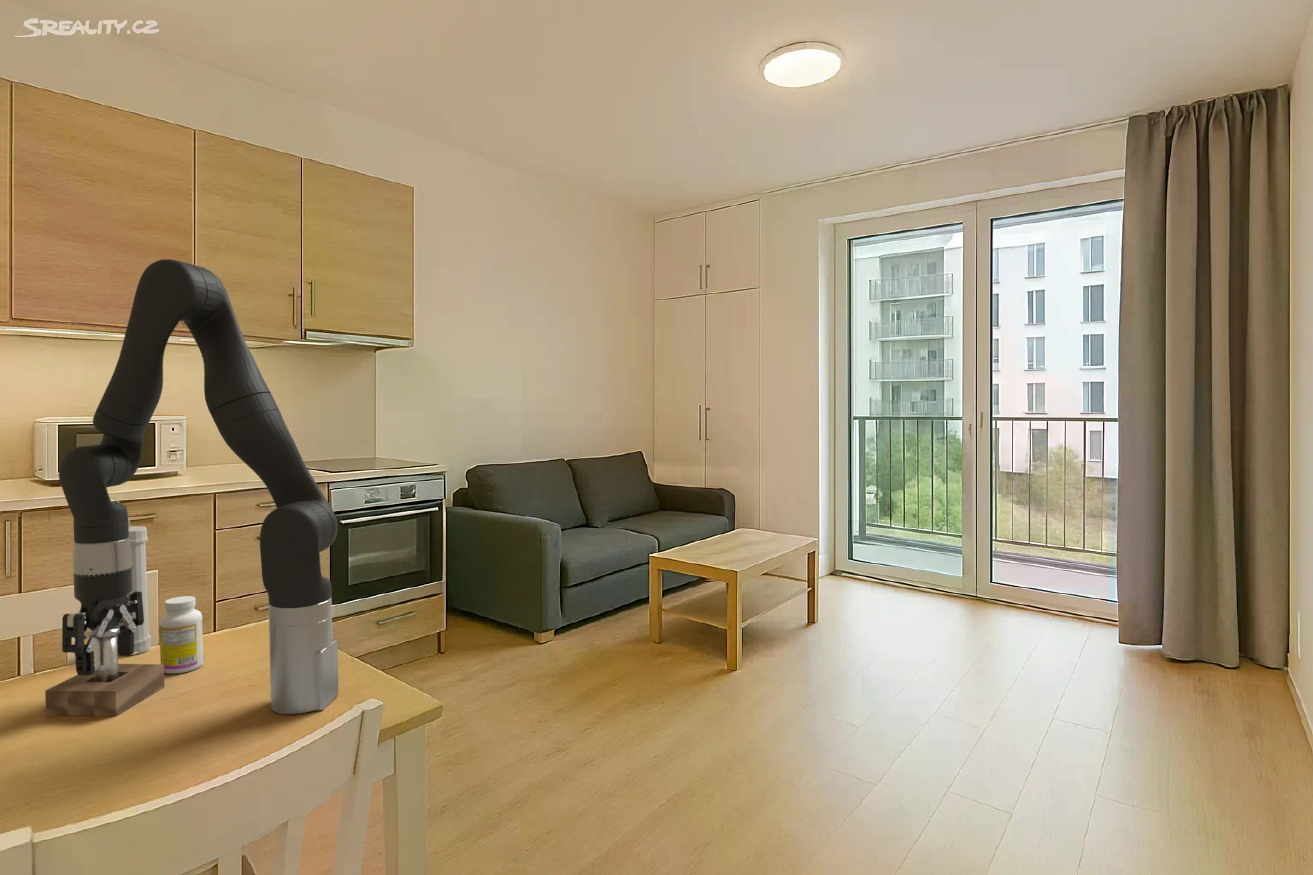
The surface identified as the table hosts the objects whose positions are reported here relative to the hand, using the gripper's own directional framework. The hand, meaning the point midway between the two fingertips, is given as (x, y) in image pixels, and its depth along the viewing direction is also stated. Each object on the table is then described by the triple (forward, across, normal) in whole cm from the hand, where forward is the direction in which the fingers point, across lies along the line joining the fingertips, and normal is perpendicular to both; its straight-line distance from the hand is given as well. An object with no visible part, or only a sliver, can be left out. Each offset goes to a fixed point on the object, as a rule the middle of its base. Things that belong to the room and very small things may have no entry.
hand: (106, 664), depth 117 cm
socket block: (+6, 0, 0) cm, 6 cm away
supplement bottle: (+6, +14, -3) cm, 16 cm away
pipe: (+6, +22, +12) cm, 26 cm away
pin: (+6, 0, 0) cm, 6 cm away
